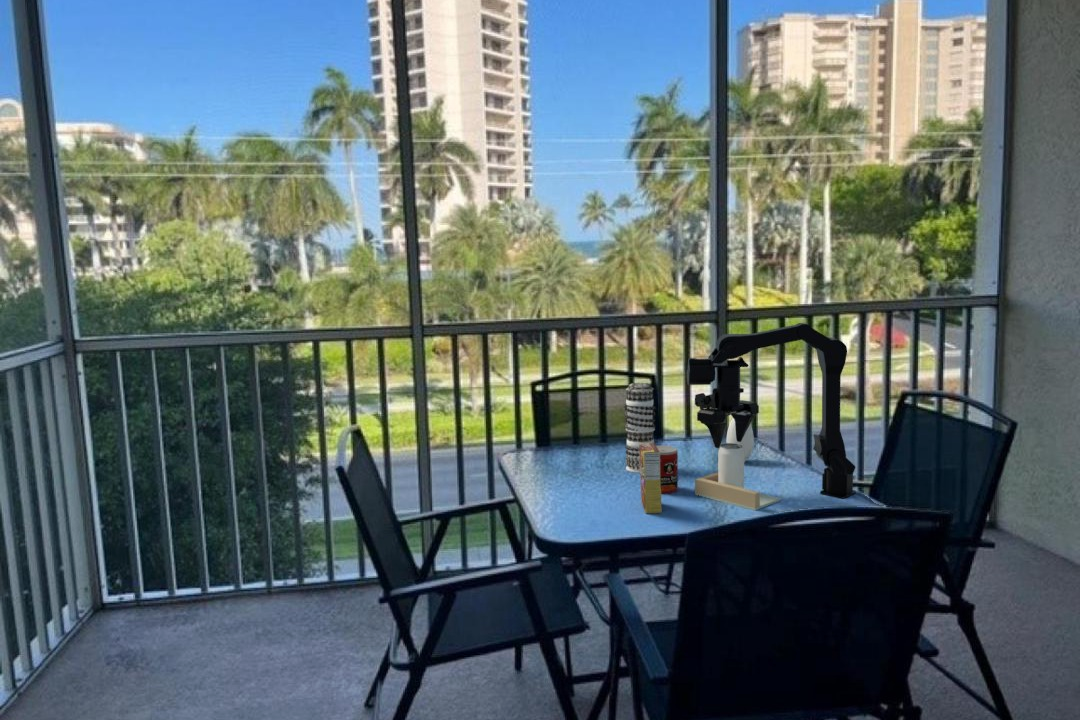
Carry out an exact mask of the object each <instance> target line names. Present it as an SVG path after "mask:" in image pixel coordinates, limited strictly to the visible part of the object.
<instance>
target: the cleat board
mask: <svg viewBox="0 0 1080 720" xmlns="http://www.w3.org/2000/svg"><path fill="white" fill-rule="evenodd" d="M694 495H695V496H698V495H699V496H698V497H701V496H702V498H705V497H706V498H707V499H709V498H710V500H713V501H717V502H720V503H725V504H729V505H732V506H737V507H740V508H744V509H748V510H752V511H758V510H760V509H762V508H765V507H768V506H770V505H772V504H775V503H776V504H777V503H778V502H781V501H782V500H781V499H782V498H781V497H777V496H773V495H769V494H764V493H761V492H760V491H756V490H754V489H753V490H752V489H750V488H749V489H748V488H745V487H744V488H740V487H736V486H732V485H728V484H724V483H720V482H718V471H717V472H714V473H711V474H707V475H705V476H702V477H698V478H695V479H694Z"/></svg>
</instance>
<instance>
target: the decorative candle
mask: <svg viewBox="0 0 1080 720" xmlns="http://www.w3.org/2000/svg"><path fill="white" fill-rule="evenodd" d="M654 390H655V388H653V387H652V386H651V385H650V384H649V383H647V382H633V383H630V384H629V385H628V386H627V388H625V391H626V400H625V403H624V406H623V410H625V412H624V414H623V415H624V422H625V423H626V424H625V425H624V427H625V431H626V437H627V438H626V445H625V449H626V450H625V454H626V456H625V460H626V461H625V465H626V467H625V470H626V471H627V472H631V473H638V474H640V449H639V444H646V443H655V440H654V439H655V438H654V431H655V430H656V429H655V428H656V424H654V423H655V422H656V419H655V418H654V416H655V415H656V412H655V410H656V409H657V408H656V406H654Z"/></svg>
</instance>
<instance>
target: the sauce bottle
mask: <svg viewBox="0 0 1080 720" xmlns="http://www.w3.org/2000/svg"><path fill="white" fill-rule="evenodd" d="M754 442H755V438H754V432H753V428H752V425H751V423H750V425H749V427H748V429H747V431H746V433H745V435H744V437H743V439H742V441H741V442H737V439H736V428H735V420H734V418H733V417H732V418H731V421H730V423H729V426H728V428H727V433H726V443H735V444H740V445H742V446H743V447H742V448H743V450H744V462H746V461H747V460H748V459H749V458H750V457H751V455H752V453H753V451H754V446H755V445H754V444H755V443H754Z"/></svg>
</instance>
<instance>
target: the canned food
mask: <svg viewBox="0 0 1080 720" xmlns="http://www.w3.org/2000/svg"><path fill="white" fill-rule="evenodd" d="M656 447H657V448H658V450H659V451H660V466H661V494H673V493H674V492H676V491H677V490H678V487H679V486H678V483H679V481H678V479H679V477H678V476H679V474H678V473H679V472H678V471H679V468H678V467H679V466H678V464H679V463H678V460H679V457H678V456H679V455H678V454H679V453H678V448H677V447H675V446H672V445H661V444H660V445H656ZM672 492H673V493H672Z"/></svg>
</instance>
